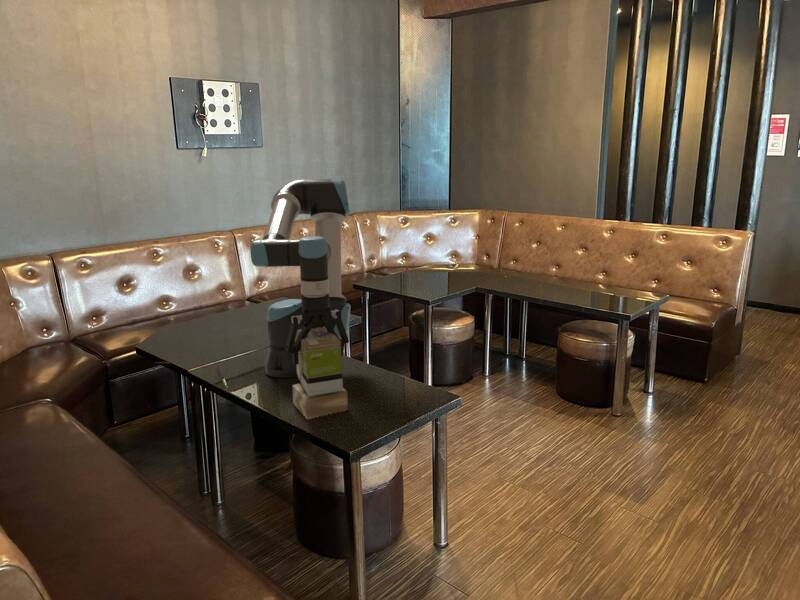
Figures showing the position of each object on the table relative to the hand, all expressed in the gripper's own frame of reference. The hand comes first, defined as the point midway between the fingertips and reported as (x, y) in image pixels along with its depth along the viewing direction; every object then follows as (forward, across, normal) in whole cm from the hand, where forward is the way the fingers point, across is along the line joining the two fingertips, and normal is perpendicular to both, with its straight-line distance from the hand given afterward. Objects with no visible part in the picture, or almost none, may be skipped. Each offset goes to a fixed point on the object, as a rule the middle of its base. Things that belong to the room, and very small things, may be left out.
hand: (318, 371), depth 168 cm
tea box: (+4, 0, 0) cm, 4 cm away
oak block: (+11, 0, 0) cm, 11 cm away
